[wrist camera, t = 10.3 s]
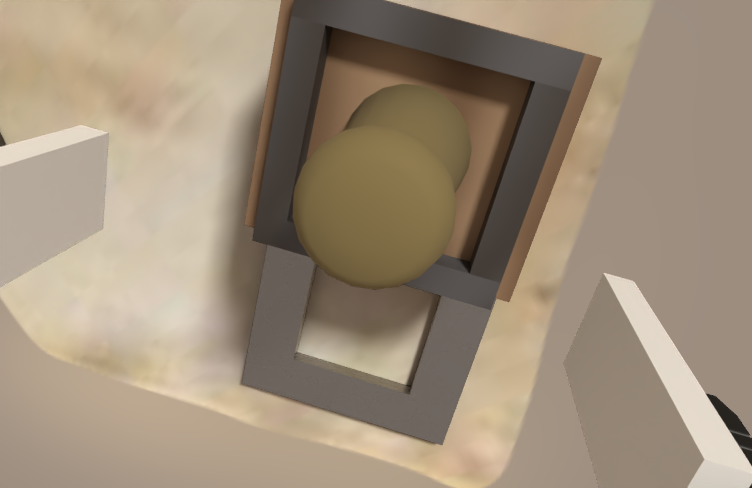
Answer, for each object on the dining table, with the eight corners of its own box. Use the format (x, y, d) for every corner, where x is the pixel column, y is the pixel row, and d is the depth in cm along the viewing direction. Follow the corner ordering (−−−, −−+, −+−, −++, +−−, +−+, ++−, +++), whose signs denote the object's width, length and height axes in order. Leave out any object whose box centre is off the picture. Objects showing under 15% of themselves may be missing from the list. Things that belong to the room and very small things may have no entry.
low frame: (246, 375, 45) (241, 383, 44) (282, 186, 39) (277, 190, 38) (442, 436, 45) (442, 445, 44) (510, 252, 38) (511, 257, 37)
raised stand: (298, 176, 39) (232, 234, 28) (336, -13, 34) (274, -29, 24) (500, 234, 38) (510, 316, 27) (566, 48, 33) (609, 60, 23)
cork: (330, 192, 28) (249, 286, 18) (359, 67, 26) (285, 94, 16) (449, 227, 28) (435, 342, 18) (489, 104, 26) (499, 156, 15)
